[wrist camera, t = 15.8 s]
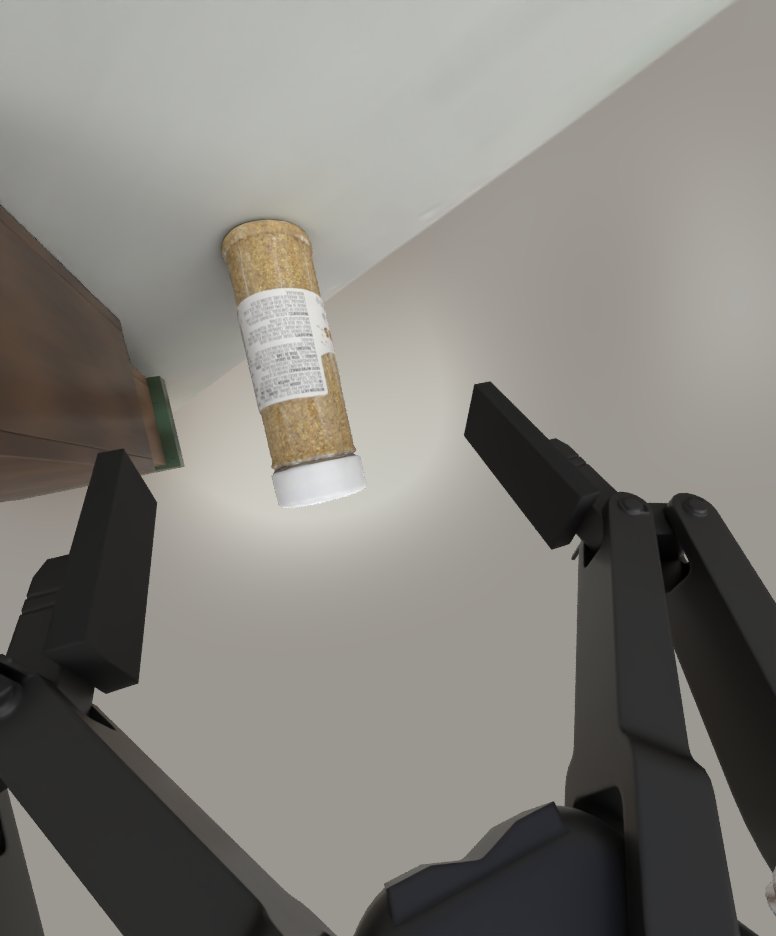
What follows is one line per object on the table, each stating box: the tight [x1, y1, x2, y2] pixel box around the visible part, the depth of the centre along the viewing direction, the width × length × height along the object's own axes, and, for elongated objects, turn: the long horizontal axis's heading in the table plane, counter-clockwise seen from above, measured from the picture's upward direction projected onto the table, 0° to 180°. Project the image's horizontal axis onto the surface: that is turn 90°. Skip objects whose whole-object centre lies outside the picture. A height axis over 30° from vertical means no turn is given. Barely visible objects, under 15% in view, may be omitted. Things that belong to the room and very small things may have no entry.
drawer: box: [10, 366, 184, 501], centre depth 28 cm, size 20×12×8 cm, turn 166°
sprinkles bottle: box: [221, 220, 366, 509], centre depth 20 cm, size 5×5×14 cm
